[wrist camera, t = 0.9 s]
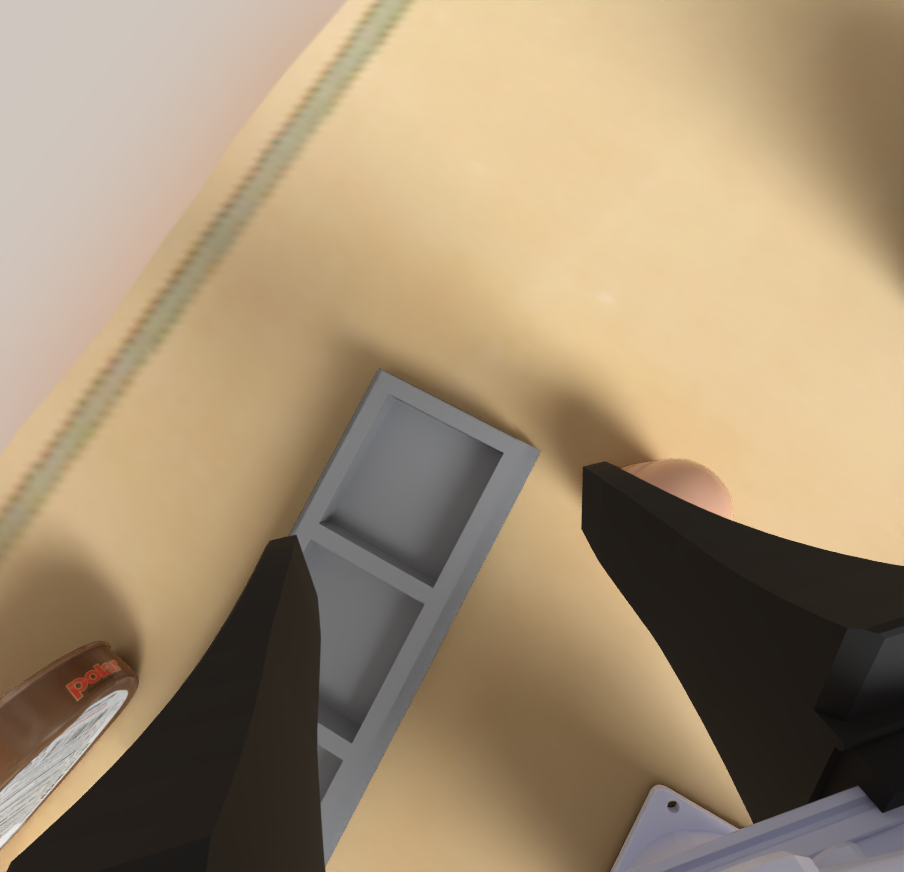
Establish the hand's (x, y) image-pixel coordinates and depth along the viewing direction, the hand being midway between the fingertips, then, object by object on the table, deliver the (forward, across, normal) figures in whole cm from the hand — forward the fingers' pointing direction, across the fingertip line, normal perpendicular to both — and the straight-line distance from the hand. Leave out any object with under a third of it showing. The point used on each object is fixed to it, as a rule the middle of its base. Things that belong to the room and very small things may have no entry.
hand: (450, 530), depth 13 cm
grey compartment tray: (+9, +4, +12) cm, 16 cm away
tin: (+10, +20, +17) cm, 28 cm away
